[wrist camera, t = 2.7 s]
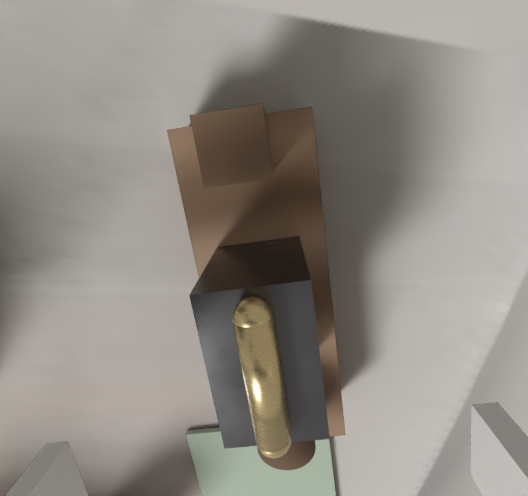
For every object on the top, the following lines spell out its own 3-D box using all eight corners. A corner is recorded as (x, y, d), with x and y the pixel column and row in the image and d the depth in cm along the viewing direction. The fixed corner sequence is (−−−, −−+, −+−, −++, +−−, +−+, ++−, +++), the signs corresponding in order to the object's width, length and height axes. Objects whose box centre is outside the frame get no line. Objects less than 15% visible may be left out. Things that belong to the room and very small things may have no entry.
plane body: (185, 132, 23) (130, 124, 14) (305, 113, 22) (324, 93, 14) (240, 405, 29) (225, 515, 20) (335, 395, 28) (362, 505, 20)
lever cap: (217, 247, 21) (180, 311, 13) (299, 235, 20) (314, 294, 12) (239, 360, 23) (219, 475, 15) (313, 352, 23) (334, 465, 15)
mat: (187, 430, 30) (186, 434, 29) (326, 416, 29) (327, 421, 29) (213, 530, 33) (212, 535, 33) (338, 520, 32) (339, 526, 32)
